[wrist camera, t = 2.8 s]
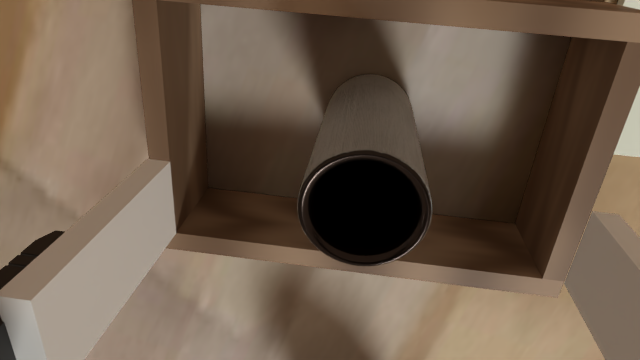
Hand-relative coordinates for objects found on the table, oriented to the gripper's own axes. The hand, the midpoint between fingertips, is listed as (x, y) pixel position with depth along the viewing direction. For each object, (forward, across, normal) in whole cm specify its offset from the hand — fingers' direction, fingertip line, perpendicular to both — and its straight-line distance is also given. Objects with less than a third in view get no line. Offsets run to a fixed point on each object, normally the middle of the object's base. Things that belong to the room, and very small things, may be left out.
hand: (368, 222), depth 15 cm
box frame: (+11, 0, 0) cm, 11 cm away
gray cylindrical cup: (+11, 0, 0) cm, 11 cm away
